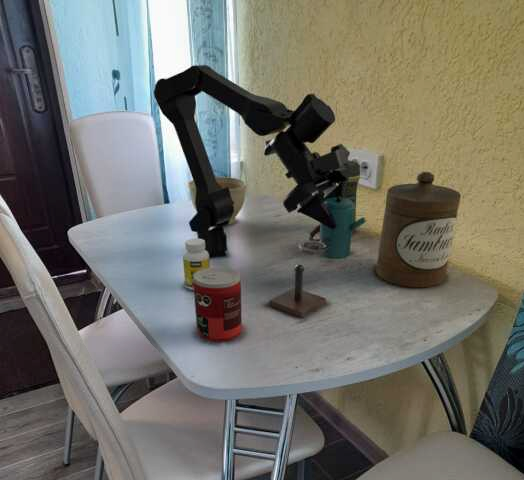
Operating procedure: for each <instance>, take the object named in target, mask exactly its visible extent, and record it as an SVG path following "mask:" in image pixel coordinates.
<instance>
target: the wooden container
mask: <svg viewBox="0 0 524 480" xmlns="http://www.w3.org/2000/svg"><path fill="white" fill-rule="evenodd" d="M416 180H417V182H416V183H402V184H395V185H393V186H390V187H388V189H387V191H386V192H387V193H386V198H385V207H384V215H383V221H382V226H381V233H380V239H379V245H378V252H377V253H378V254H377V261H376V270H375V271H376V272H375V273H376V274H377V276H379V278H380V279H382V280H384V281H385V282H388V283H390V284H394V285H397V286H402V287H408V288H429V287H433V286H436V285H439V284H441V283H442V282H443V281H444V280H445V277H446V272H447V269H448V263H449V258H450V254H451V252H452V251H451V250H452V246H453V239H454V233H455V228H456V224H457V217H458V211H459V207H460V202H461V198H462V197H461V196H462V195H461V193H460V192H459V191H457V190H455V189H453V188H450V187H447V186H442V185H437V184H433V182H434V181H435V175H434V174H433V173H432V172H430V171H422V172H421V173H419V174H418V175H417V176H416Z"/></svg>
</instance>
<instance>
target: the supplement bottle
mask: <svg viewBox="0 0 524 480" xmlns="http://www.w3.org/2000/svg"><path fill="white" fill-rule="evenodd" d="M184 245H185V250H184V252H183V253H182V262H183V277H184V286H185V288H186V289H189V290H191V291H194V287H193V275H194V274H195V273H196V272H197V271H199V270H202V269H205V268H210V267H211V266H210V257H209V253H208V252H207V251H206V250H204V249H205V241H204V240H203V239H197V237H195V238H189V239H186V240H185V242H184Z"/></svg>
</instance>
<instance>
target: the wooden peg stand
mask: <svg viewBox="0 0 524 480" xmlns="http://www.w3.org/2000/svg"><path fill="white" fill-rule="evenodd" d="M304 272H305V267H304V265H302V264H296V265H295V266H294V287H292V288H291V289H289V290H287V291H285V292H283V293H281V294H279V295H276V296H275V297H273V298H271V299H269V304H268V305H269V306H270V307H271V308H275V309H277V310H280V311H283V312H285V313H287V314H289V315H293V316H295V317H298V318H301V319H303V318H304V317H307V316H308V315H309V314H312V313H313V312H315V311H317V310H318V309H320V308H322V307H324V306H325V305H326V304H327V298H325V297H323V296H321V295H317V294H314V293H311V292H309V291H305V290H303V283H304V282H303V281H304V280H303V279H304Z"/></svg>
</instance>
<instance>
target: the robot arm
mask: <svg viewBox="0 0 524 480" xmlns="http://www.w3.org/2000/svg"><path fill="white" fill-rule="evenodd" d="M202 92H203V93H205V94H206V95H208V97H211V98H212V99H214V100H215V101H217V102H219V103H220V104H222V105H224V106H225V107H227V108H229V109H230V110H231V111H233V112H235V113H237V114H238V115H239V116H240V117H241V119H242V122H243V123H244V125H245V126H247V128H249V129H250V130H251V131H252V132H253V133H254V134H255V135H257V136H260V137H265V136H269V135H274V134H276V135H275V136H274V137H273V139H268V140H265V142H264V144H265V145H264V146H265V147H264V152H263V155H264V156H265V157H267V156H271V155H274V154H275V155H276V156H277V158H278V159H279V161H280V162H281V163H282V165H283V166H284V167H285V169H286V170H287V172H286V173H285V176H286V178H287V179H289V180H290V179H293V181H294V182H295V183H296V185H295V187H293V188H292V189H291V190H290V191H289V192H288V193H287V194H286V195H285V196H284V197H283V199H282V200H283V202H282V206H283V207H284V208H285V210H286V212H287V213H288V214H289V213H292V212H295V211H296V212H297V213H298V214H302V215H305V216H307V217H309V218H311V219H313V220H315V221H316V222H318V223H319V224H320V223H322V224H323V225H325V226H327V227H329V228H331V229H332V230H333V229H335V228H336V227H337V225H336V223H335V221H334V219H333V217H332V215H331V213H330V212H329V210H328V208H327V206H326V205H325V203H324V202H325V200H326V199H329V198H336V197H338V196H340V197H341V198H344V199H346V195H345V188H346V184H347V183H348V179H349V178H350V177H351V176H352V175H351V173H350V172H349V170H348V169H347V168H343V167H342V166H343V165H344V166H345V165H347V164H349V161H350V160H349V156H350V155H351V152H350V151H349V150H348V149H347V147H346V146H344V145H343V144H342V143H339V144H336V145H334V146H332V147H330V152H328V153H325V154H323V155H320V153H319V152H317V151H313V152H312V151H311V150H310V148H309V147H308V146H307V144H306V143H309V144H314V143H315V142H316V141H317V140H318V139H319V138H320V137H321V136H322V135H323V134H324V133H325V132H326V131H327V130H328V129H329V128H330V127H331V126H332V125H333V124H334V123H335V121H336V114H335V112H334V111H333V109H332V107H331V106H330V105H328V104H327V103H326V102H325V101H323V100H322V99H320V98H319V97H317V95H316V94H315V93H307V95H306V96H304V98H303V100H302V101H301V103H300V104H299V105H298V106H297V108H296V109H295V110H293V109H289V108H288V107H287V106H286V105H285V104H284V103H283V102H281V101H279V100H275V99H272V98H270V97H266V96H261V95H257V94H254V93H252V92H250V91H249V90H247V89H245V88H243V87H242V86H240V85H238V84H237V83H235V82H233V81H232V80H230V79H229V78H227V77H225V76H224V75H222V74H220V73H218V72H217V71H215V70H213V68H212V67H211V66H209V65H207V64H196V65H195V64H194V65H191V66H189V67H188V68H186V69H185V70H183V71H181V72H179V73H176V74H174V75H172V76H170V77H162V78H159V79H158V80H157V81H156V83H155V85H154V89H153V97H154V99H155V103H156V104H157V106H158V108H159V110H160V112H161V114H162V115H163V116H164V117H165V118H166V119H167V120H168V121H169V122H170V123H171V125H173V128H174V131H175V133H176V136H177V139H178V142H179V145H180V148H181V150H182V153H183V156H184V158H185V161H186V164H187V167H188V169H189V173H190V175H191V178H192V180H193V181H194V183H195V186H196V198H195V205H196V209H195V211H196V210H197V211H196V213H195V214H194V216H193V217H192V218H191V219H190V220H189V222H188V225H189V227H190V228H189V229H190V231H191V232H194V233H196V238H197V239H203V240H204V241H205V249H204V250H206V251H207V252H208V253H209V258H216V257H226V256H227V252H228V240H227V238H228V236H227V232H225V227H227V226H229V225H230V224H229V221H230V218H231V217H232V215H233V213H234V207H233V204H235V203H234V201H233V200H232V198H231V195H230V190H229V188H228V187H225V188H222V187H221V186H220V185H219V184H218V183H217V181H216V178H215V177H216V176H215V173H214V170H213V167H212V164H211V161H210V157H209V155H208V153H207V150H206V147H205V144H204V141H203V138H202V135H201V133H200V132H201V131H200V129H199V127H198V124H197V120H196V118H195V117H196V109H197V108H196V107H197V101H196V96H198V95H200V94H201V93H202ZM287 127H288V128H287ZM286 128H287V129H286ZM284 130H285V131H284ZM348 160H349V161H348ZM340 167H341V168H340ZM337 168H338V169H337ZM331 169H333V171H332V170H331ZM334 169H336V170H334ZM324 195H325V196H326V197H325V198H324ZM298 205H299V206H300V207H299V208H298Z"/></svg>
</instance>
